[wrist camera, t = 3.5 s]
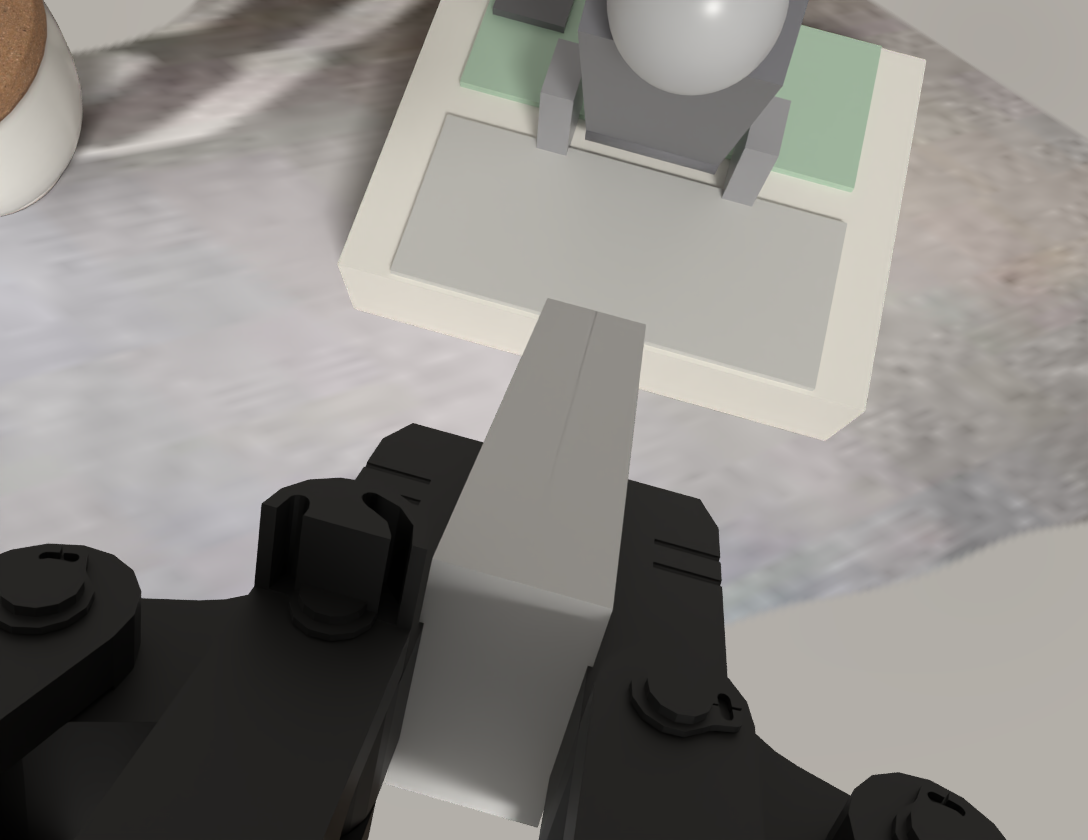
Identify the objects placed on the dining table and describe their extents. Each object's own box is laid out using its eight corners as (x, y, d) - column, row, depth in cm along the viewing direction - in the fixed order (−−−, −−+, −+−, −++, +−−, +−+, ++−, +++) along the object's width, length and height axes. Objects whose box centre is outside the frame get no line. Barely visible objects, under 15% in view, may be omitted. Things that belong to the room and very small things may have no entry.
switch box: (824, 441, 35) (910, 377, 28) (354, 309, 36) (318, 213, 29) (885, 119, 40) (971, -6, 33) (468, 7, 41) (462, -140, 33)
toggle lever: (704, 199, 34) (798, 97, 18) (580, 165, 34) (560, 33, 18) (735, 95, 33) (861, -108, 17) (608, 61, 33) (614, -173, 17)
